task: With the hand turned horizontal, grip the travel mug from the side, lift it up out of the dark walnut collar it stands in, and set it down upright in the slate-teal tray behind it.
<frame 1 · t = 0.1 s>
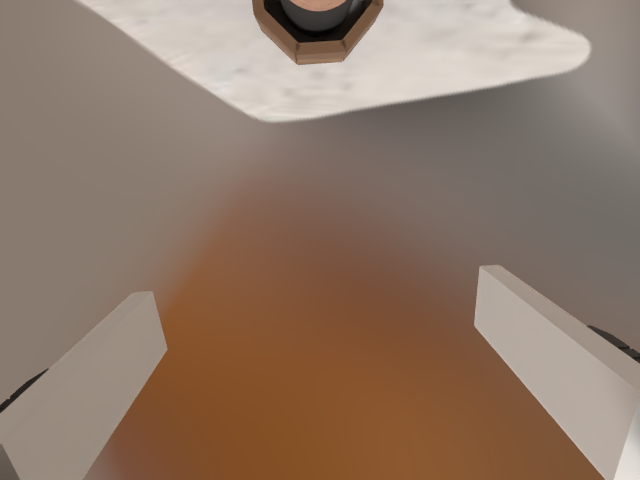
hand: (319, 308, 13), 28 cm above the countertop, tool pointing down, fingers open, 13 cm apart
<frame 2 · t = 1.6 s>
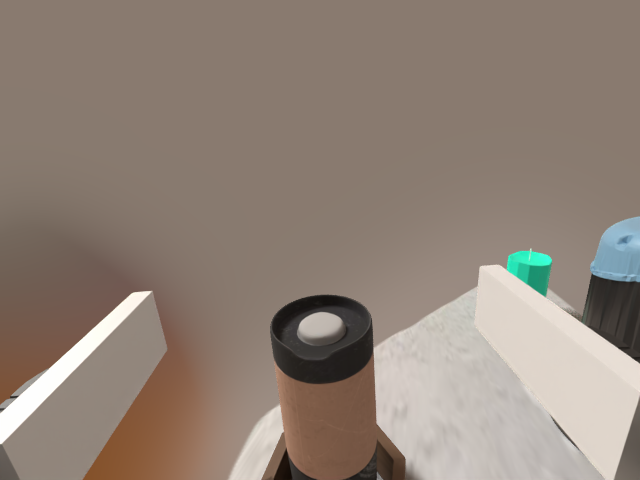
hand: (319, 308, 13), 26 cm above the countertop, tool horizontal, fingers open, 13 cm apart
candle: (521, 314, 56), on the countertop
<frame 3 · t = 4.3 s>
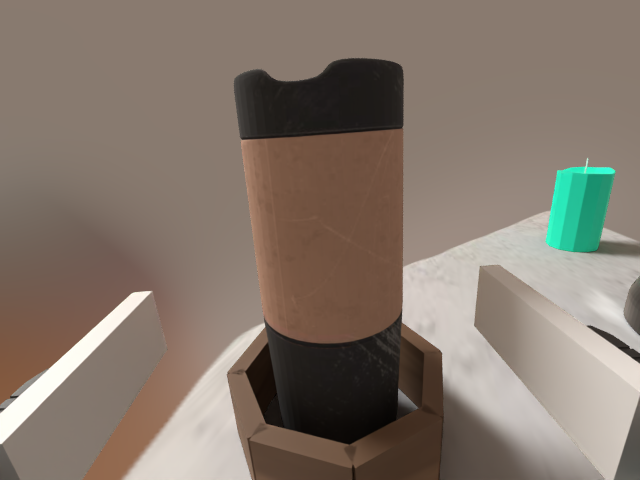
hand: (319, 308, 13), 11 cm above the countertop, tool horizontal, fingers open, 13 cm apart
candle: (570, 246, 46), on the countertop
walnut collar: (339, 420, 21), on the countertop
travel mug: (339, 422, 21), resting in walnut collar
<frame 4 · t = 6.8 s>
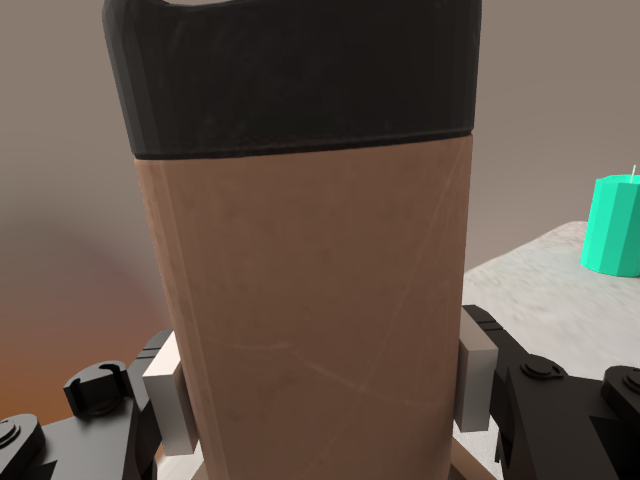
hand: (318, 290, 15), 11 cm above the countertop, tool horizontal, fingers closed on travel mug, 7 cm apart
candle: (611, 267, 39), on the countertop
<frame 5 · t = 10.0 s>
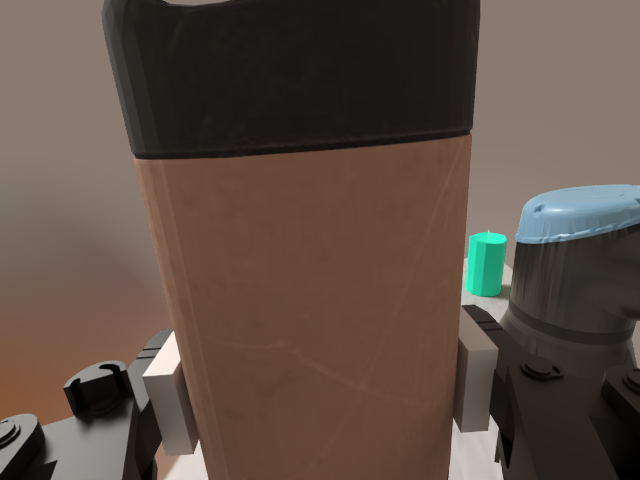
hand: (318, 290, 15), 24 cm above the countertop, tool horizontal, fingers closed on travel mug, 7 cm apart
candle: (482, 290, 62), on the countertop
when the fingers open (13 cm above the countertop, at t = 13.1 s): travel mug stays where it is, resting on slate tray.
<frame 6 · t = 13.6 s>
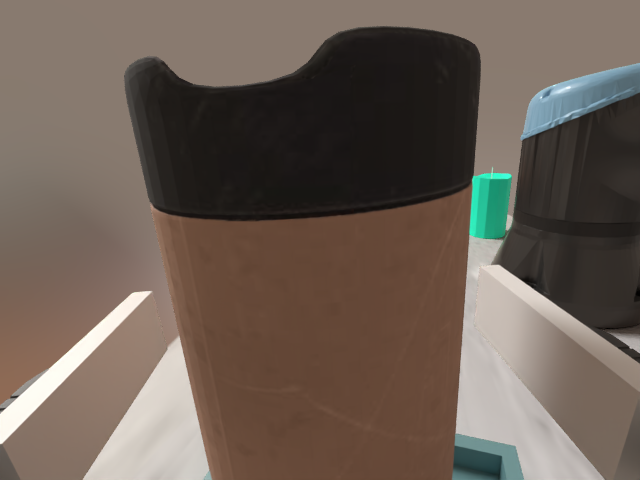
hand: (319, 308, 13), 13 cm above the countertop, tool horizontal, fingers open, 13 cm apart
candle: (486, 234, 59), on the countertop
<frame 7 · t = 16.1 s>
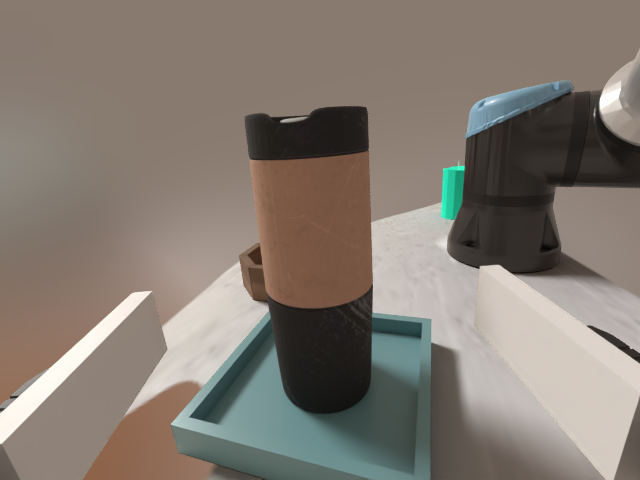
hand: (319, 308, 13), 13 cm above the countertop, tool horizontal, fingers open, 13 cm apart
candle: (455, 216, 72), on the countertop
slate tray: (326, 387, 26), on the countertop
walnut collar: (289, 280, 46), on the countertop
travel mug: (326, 380, 26), point 1 cm above the countertop, touching slate tray
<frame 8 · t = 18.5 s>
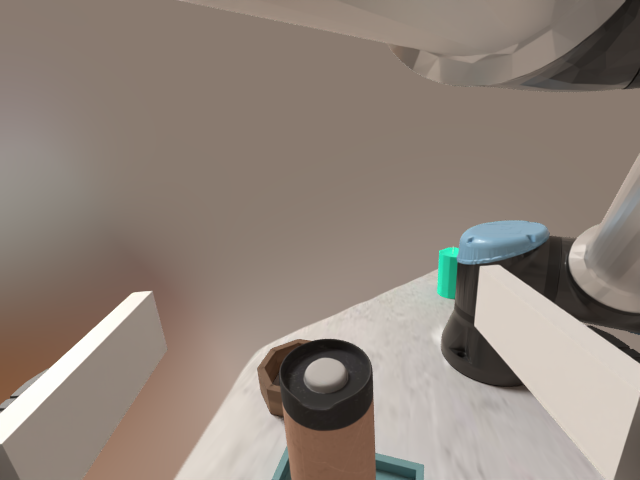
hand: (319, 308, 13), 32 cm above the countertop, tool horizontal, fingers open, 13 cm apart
candle: (450, 293, 78), on the countertop
walnut collar: (301, 386, 52), on the countertop
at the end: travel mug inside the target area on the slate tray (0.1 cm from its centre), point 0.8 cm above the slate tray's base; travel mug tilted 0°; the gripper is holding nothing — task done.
